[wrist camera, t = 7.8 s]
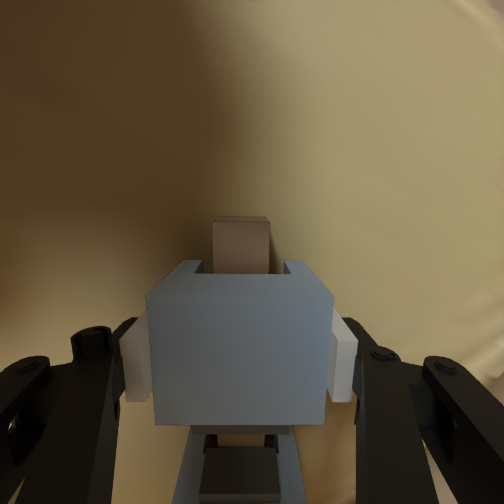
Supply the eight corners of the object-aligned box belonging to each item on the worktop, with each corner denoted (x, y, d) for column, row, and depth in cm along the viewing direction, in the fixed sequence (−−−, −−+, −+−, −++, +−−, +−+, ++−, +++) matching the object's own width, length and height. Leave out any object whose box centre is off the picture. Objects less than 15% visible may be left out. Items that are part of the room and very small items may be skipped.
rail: (219, 216, 17) (212, 222, 14) (265, 216, 17) (270, 223, 14) (224, 479, 22) (219, 532, 19) (260, 479, 22) (262, 532, 19)
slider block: (287, 476, 21) (302, 583, 16) (196, 476, 21) (176, 585, 15) (291, 407, 20) (308, 497, 14) (193, 407, 20) (169, 498, 14)
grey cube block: (183, 259, 16) (145, 295, 10) (303, 260, 16) (333, 296, 10) (187, 357, 17) (156, 438, 12) (298, 357, 18) (323, 438, 12)
